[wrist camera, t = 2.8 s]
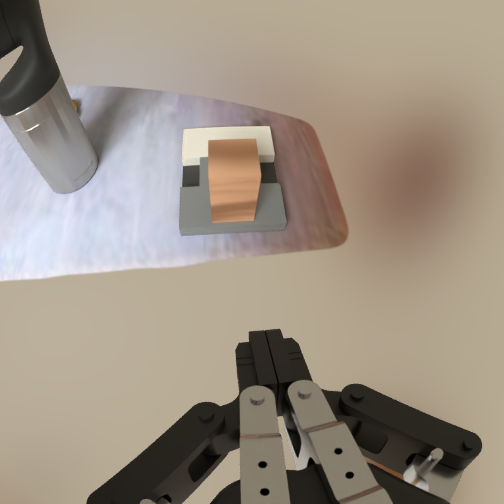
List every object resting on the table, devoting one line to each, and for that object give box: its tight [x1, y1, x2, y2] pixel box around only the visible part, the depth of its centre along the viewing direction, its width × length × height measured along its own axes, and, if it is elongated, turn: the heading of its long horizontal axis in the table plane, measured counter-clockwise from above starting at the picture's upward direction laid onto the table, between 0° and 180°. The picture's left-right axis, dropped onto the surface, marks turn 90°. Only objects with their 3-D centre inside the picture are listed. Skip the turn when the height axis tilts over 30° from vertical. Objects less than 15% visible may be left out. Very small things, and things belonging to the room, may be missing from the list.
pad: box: [182, 126, 275, 166], centre depth 42 cm, size 6×13×2 cm, turn 95°
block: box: [208, 139, 261, 223], centre depth 33 cm, size 5×5×9 cm
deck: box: [179, 157, 287, 236], centre depth 39 cm, size 11×13×2 cm
